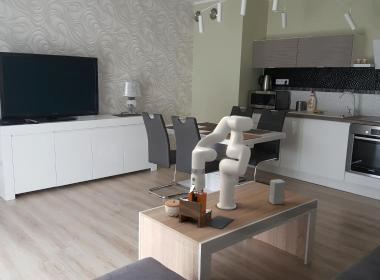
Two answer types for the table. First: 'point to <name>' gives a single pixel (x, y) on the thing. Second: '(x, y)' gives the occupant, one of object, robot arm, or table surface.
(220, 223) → the mat
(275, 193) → the cosmetic box
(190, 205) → the wooden toy chair
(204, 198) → the block
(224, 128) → the robot arm
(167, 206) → the trinket box
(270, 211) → the table surface
